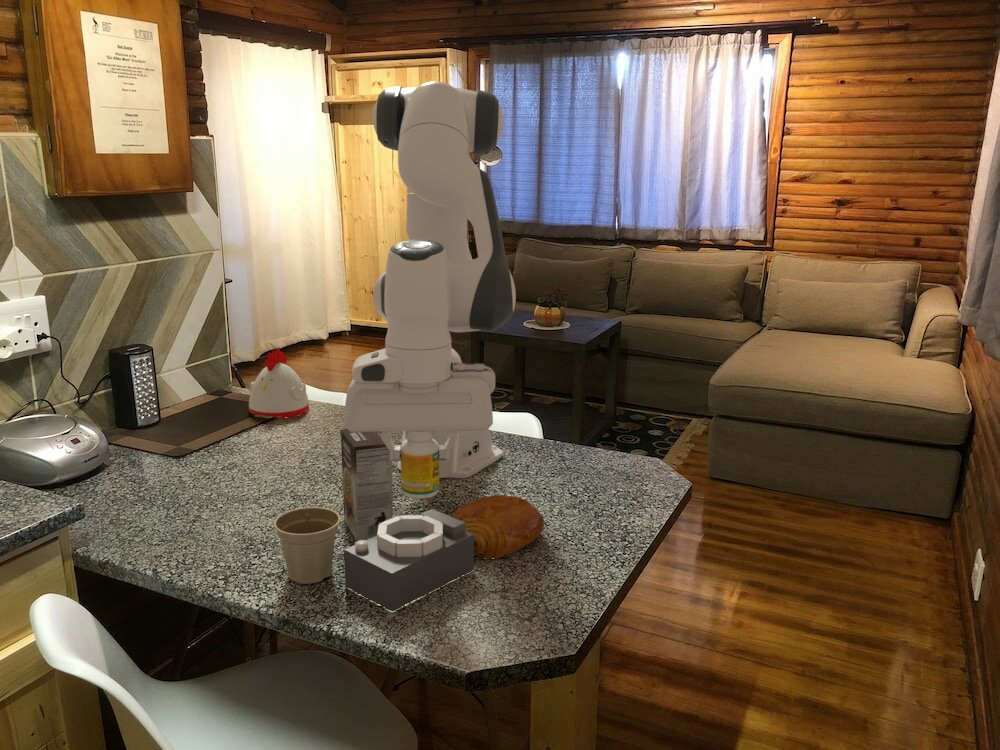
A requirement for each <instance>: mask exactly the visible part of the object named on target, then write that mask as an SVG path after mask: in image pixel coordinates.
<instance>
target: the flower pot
mask: <svg viewBox="0 0 1000 750" xmlns="http://www.w3.org/2000/svg"><path fill="white" fill-rule="evenodd" d="M341 520H342V519H341V515H340V514H339V513H338V512H337V511H335V510H333V509H331V508H327V507H321V506H320V507H319V506H306V507H300V508H296V509H295V508H294V509H292V510H288V511H285V512H283V513H282V514H279V516H277V517H276V518H275V519H274V521H273V528H274V529H275V530H276V531H277V536H278V538H279V539H280V543H281V547H282V551H283V557H284V560H285V566H286V570H287V576H288V579H289V580H291V581H295V582H296V583H298V584H303V585H309V584H315V583H321V581H323V579H325V578H329V577H330V576H331V575H332V571H333V560H334V550H335V544H336V543H335V540H336V533H337V532H338V528H339V525H340V524H341Z"/></svg>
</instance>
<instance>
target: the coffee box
mask: <svg viewBox="0 0 1000 750" xmlns="http://www.w3.org/2000/svg"><path fill="white" fill-rule="evenodd" d="M340 444H341V445H340V446H341V447H340V449H341V469H342V470H341V471H342V494H343V495H342V496H343V518H344V521H345V523H346V525H347V526H348V528H349V529H350V531H351V533H352V535H353V538H354V539H355V540H356V541H355V542H357V541H359V540H368V539H370V538H372V537H375V536H377V532H378V527H379V524H380V523H382V522H384V521H387V520H389V519H391V518H393V461H390V450H389V449H388V448H387V446H386V445H385V443H384V442H383V440H382V439H381V432H350V431H349V430H348V429H347V428H344V429H340Z"/></svg>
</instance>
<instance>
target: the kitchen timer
mask: <svg viewBox="0 0 1000 750" xmlns="http://www.w3.org/2000/svg"><path fill="white" fill-rule="evenodd" d="M287 361H288V356H287V355H285V353H284V352H281V349H279V348H278V349H275V350H272V351H271V352H268V353H267V359H264V363H265V367H264V368H263V369H262V370H261V371H260V372H259V374H258V375H257V377H256V378H255V381H251V382H250V385H249V393H250V395H249V400H248V412H249V411H250V412H251V413H253V414H256V415H265V416H274V417H279V418H285V417H293V416H297V415H300V414H303V413H305V414H306V413H308V412H309V409H310V404H309V403H310V402H309V397H308V393H307V388H306V386H307V385H306V383H305V382H304V383H303V382H302V380H301V378H300V377H299V375H298V374H297V372H296V371H295V370H294V369H293V368H292V367H290V366H289V365H287V363H288V362H287ZM307 411H308V412H307ZM303 415H304V414H303ZM300 416H301V415H300ZM297 417H298V416H297ZM293 418H294V417H293Z"/></svg>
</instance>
